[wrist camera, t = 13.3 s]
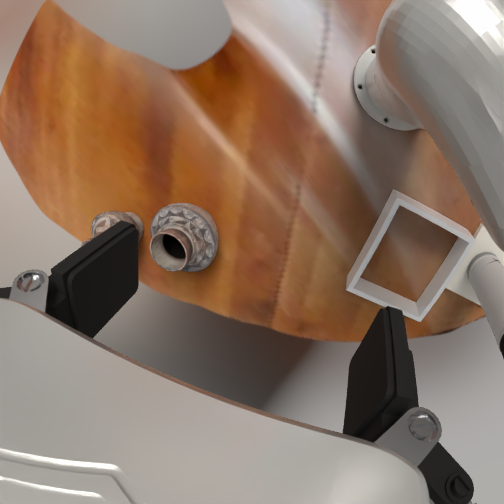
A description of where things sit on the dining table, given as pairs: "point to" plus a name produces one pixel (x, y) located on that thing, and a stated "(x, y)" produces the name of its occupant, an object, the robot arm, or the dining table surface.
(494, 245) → the pad
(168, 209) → the pottery
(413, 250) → the dining table surface
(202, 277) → the dining table surface
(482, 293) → the travel mug
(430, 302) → the bin
